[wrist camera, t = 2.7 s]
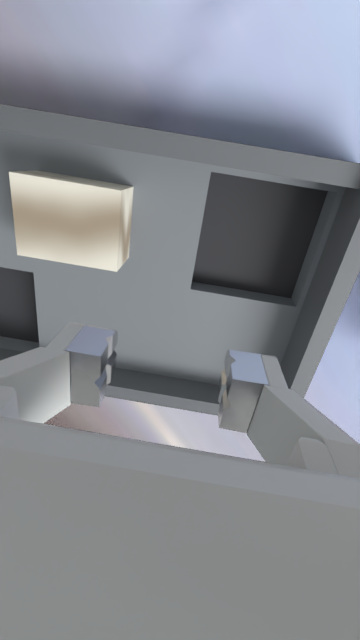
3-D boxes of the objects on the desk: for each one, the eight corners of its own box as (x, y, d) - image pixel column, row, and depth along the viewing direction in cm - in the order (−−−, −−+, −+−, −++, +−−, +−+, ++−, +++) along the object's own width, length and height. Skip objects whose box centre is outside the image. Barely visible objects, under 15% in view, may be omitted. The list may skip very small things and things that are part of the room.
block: (128, 257, 28) (116, 271, 24) (41, 243, 28) (17, 255, 24) (133, 186, 25) (121, 190, 21) (37, 170, 25) (8, 171, 22)
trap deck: (275, 391, 36) (287, 434, 31) (-171, 315, 37) (-242, 343, 31) (359, 168, 25) (404, 169, 19) (-282, 61, 26) (-424, 32, 20)
